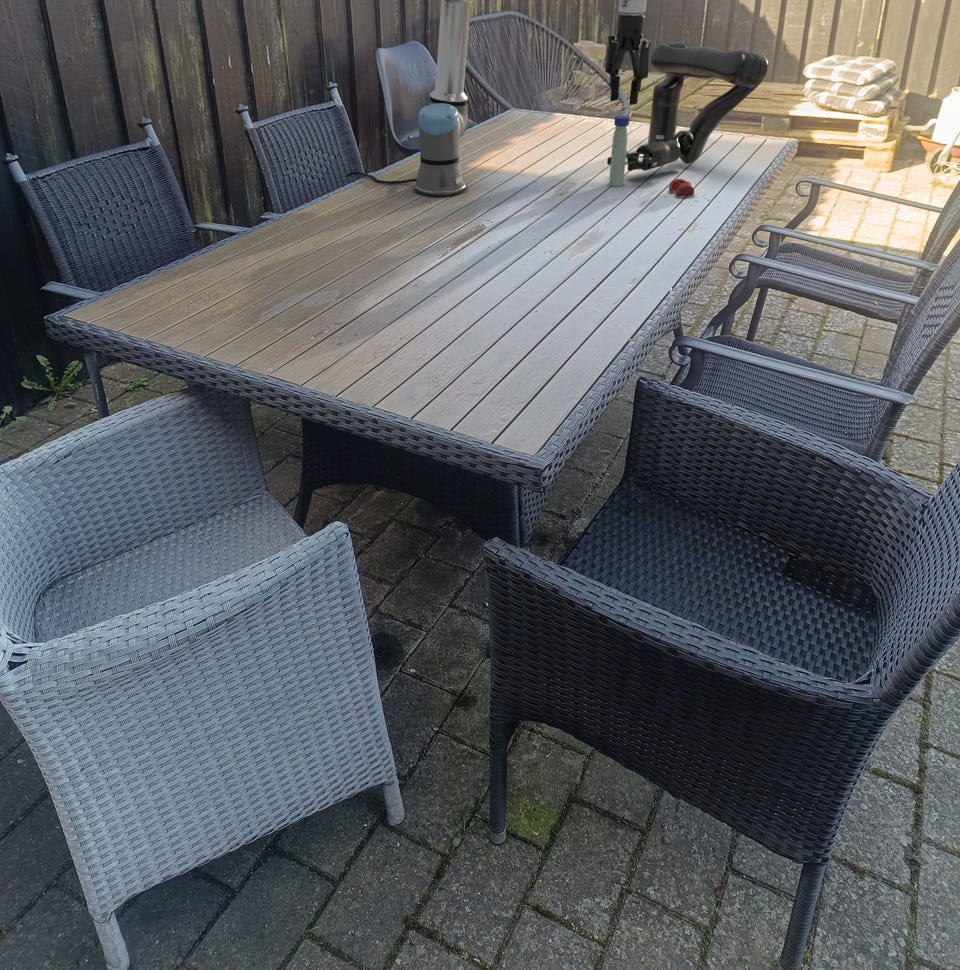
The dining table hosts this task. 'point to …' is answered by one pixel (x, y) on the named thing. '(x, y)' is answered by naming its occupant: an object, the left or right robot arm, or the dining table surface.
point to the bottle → (618, 156)
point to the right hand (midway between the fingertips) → (618, 164)
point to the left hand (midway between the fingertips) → (623, 102)
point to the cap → (621, 121)
